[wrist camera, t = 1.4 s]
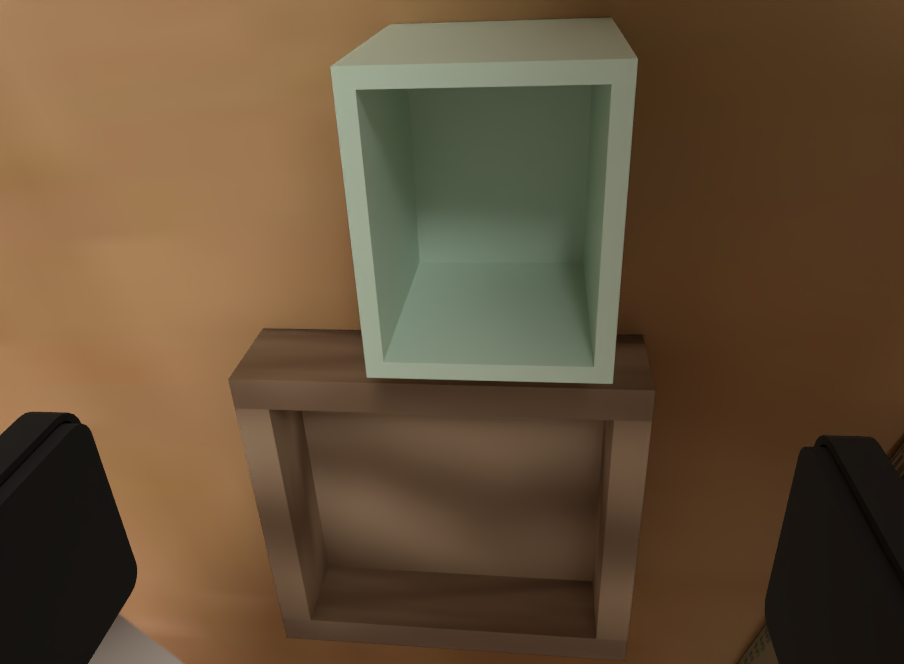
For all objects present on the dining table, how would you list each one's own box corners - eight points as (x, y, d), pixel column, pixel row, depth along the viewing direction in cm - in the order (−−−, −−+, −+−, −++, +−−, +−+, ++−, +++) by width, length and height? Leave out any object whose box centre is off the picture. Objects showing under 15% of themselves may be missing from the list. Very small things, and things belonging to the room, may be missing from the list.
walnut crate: (262, 328, 28) (228, 379, 25) (643, 335, 26) (655, 390, 23) (310, 573, 34) (287, 637, 31) (617, 591, 32) (625, 660, 29)
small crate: (389, 24, 22) (330, 66, 16) (611, 17, 21) (638, 58, 15) (408, 269, 26) (366, 377, 20) (596, 270, 25) (612, 383, 19)
